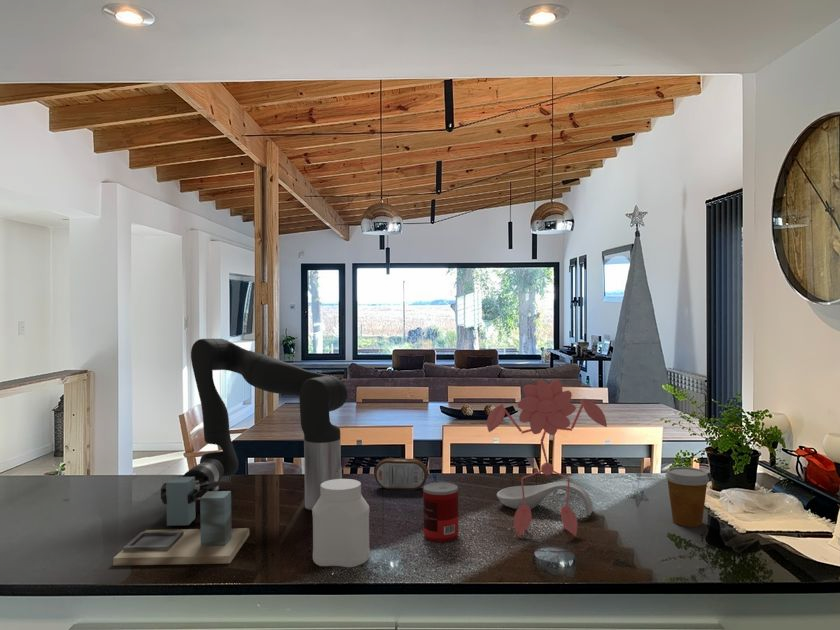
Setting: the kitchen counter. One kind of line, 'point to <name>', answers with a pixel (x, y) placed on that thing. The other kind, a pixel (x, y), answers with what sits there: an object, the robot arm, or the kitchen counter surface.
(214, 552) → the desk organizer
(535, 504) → the spoon rest
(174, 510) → the pillar
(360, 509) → the jar
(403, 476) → the tin
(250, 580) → the kitchen counter surface
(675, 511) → the disposable coffee cup
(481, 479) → the kitchen counter surface
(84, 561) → the kitchen counter surface
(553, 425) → the figurine
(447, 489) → the canned food
